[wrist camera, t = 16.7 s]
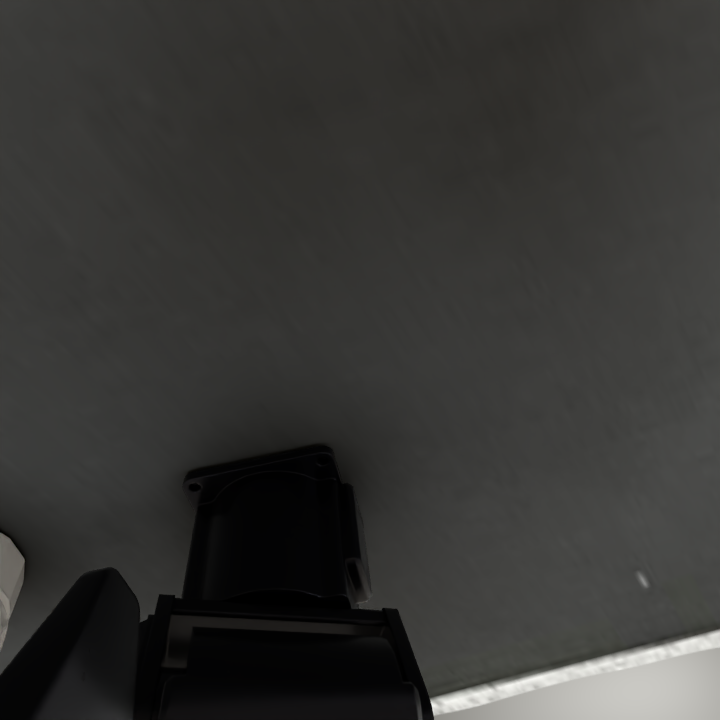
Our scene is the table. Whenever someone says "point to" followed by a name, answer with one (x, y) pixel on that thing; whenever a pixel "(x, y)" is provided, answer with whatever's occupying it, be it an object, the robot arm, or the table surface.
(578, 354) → the table surface
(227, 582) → the robot arm
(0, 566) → the white cup
